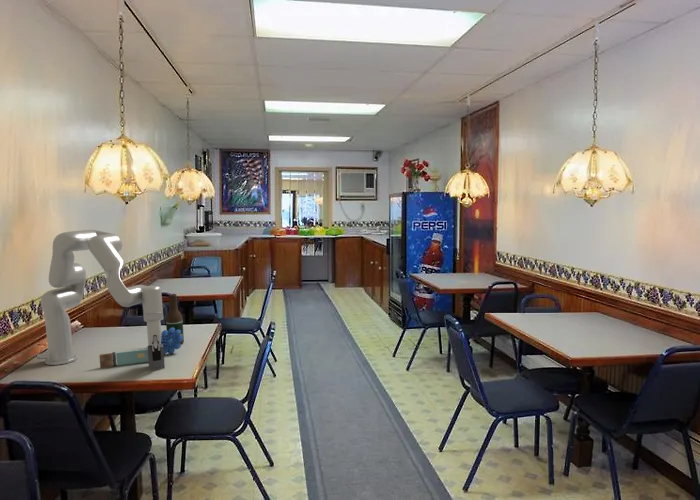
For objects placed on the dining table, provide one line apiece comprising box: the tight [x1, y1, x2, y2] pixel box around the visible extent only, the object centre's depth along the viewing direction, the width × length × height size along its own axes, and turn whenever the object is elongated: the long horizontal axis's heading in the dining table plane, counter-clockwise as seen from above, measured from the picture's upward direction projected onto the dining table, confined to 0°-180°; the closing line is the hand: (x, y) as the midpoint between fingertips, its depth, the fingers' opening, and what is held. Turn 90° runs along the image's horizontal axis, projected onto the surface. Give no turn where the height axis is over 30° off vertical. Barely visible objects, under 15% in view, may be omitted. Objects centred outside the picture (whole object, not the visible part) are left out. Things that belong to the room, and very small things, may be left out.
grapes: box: [161, 327, 183, 355], centre depth 242 cm, size 12×7×12 cm, turn 116°
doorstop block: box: [147, 344, 166, 371], centre depth 223 cm, size 6×5×9 cm
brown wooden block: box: [99, 351, 117, 369], centre depth 229 cm, size 25×1×6 cm, turn 110°
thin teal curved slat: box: [115, 348, 149, 367], centre depth 229 cm, size 13×1×5 cm, turn 110°
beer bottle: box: [165, 293, 185, 345], centre depth 257 cm, size 8×8×24 cm
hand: (156, 357), depth 223 cm, fingers open, 9 cm apart
